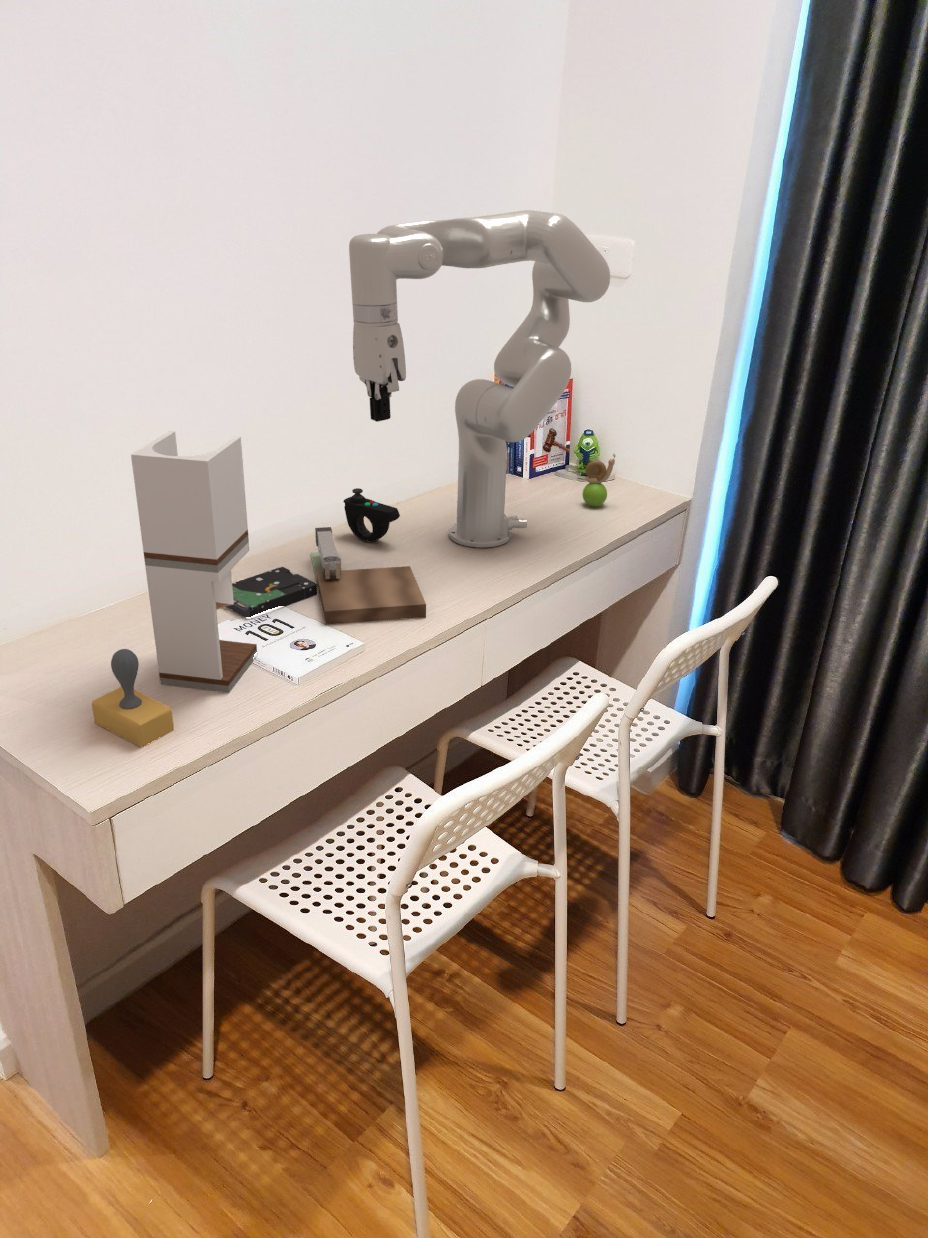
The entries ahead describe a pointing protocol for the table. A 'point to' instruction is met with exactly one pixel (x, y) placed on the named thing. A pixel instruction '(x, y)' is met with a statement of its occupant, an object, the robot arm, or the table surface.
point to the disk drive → (270, 591)
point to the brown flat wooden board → (369, 594)
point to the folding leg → (328, 553)
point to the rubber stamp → (131, 706)
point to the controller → (368, 516)
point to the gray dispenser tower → (192, 558)
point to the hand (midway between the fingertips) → (380, 419)
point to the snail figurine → (597, 482)
